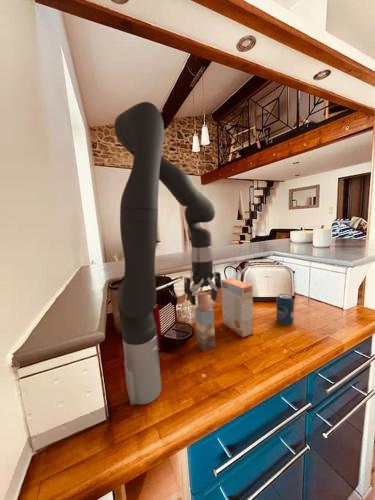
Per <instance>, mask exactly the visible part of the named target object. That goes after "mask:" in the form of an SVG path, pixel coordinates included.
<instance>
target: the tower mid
mask: <svg viewBox="0 0 375 500" xmlns="http://www.w3.org/2000/svg"><path fill="white" fill-rule="evenodd" d="M195 329H196V330H195V331H196V335H197V334H198V335H199V336H200V337H201V338H202V339H205V338H207V337H210V336H213V335H215V334H216V332H215V322H214V323H211V324H208V325H204V326H202V325H201V324H199V323H198V322H197V321H196V320H195Z"/></svg>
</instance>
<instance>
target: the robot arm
mask: <svg viewBox="0 0 375 500" xmlns="http://www.w3.org/2000/svg"><path fill="white" fill-rule="evenodd" d="M113 128H114V132H115V136H116V139H117V140H118V142H119V143H120V144H121V145H122V146H123V148H124V149H125V150H126V151H128V152H129V154H131V155H132V157H133V162H132V167H131V170H130V174H129V176H128V178H127V181H126V184H125V186H124V189H123V191H122V195H121V198H120V206H119V212H120V213H119V228H120V230H119V231H120V239H121V246H122V250H123V251H122V252H123V256H124V257H123V258H124V273H123V281H121V283H120V284H119V286H118V288H117V292H116V297H117V298H116V300H117V307H118V316H119V324H120V330H121V335H122V345H123V353H124V360H123V362H124V363H123V364H124V374H125V381H126V383H125V384H126V390H127V391H126V392H127V393H128V398H129V402H130V406H134V405H147V404H150V403H152V402H153V401H155V400H156V399H157V398H158V397H159V396H160V394H161V393H162V378H161V367H160V354H159V353H160V352H159V343H158V330H157V329H158V328H157V323H156V320H155V318H154V317H155V316H154V309H155V306H156V303H157V286H156V285H157V284H156V269H155V267H156V266H155V263H156V250H157V237H158V235H157V233H158V221H159V220H158V218H159V217H158V216H159V214H158V213H159V201H158V200H159V187H160V186H159V185H160V182H161V183H162V184H163V185H164V186H165V188H167V190H168V191H169V192H170V193H171V194H172V196H173V198H175V200H176V201H177V202H178V203H179V205H181V206H182V207H185V209H184V218H185V221H186V224H187V227H188V232H189V234H190V242H191V248H190V249H191V253H190V260H191V273H192V275H191V276H189V277H187V276H185V277H184V278H183V283H184V285H183V287H184V288H183V290H184V291H183V292H184V294H186V295H187V296H189V303H190V304H191V305H192V306H196V305H197V304H196V303H197V302H196V299H197V298H196V293H197V292H198V291H199V290H200V289H201V288H204V287H210V288H211V290H210V300H212V301H217V298H218V292H217V291H218V290H219V289H222V282H221V280H222V277H221V276H222V275H221V273H220V272H219V271H214V263H213V261H214V260H213V249H212V235H211V234H212V233H211V231H210V230H209V229H206V228H203V227H202V225H201V223H209V222H211V221H213V220H214V218H215V215H216V210H215V205H214V204H213V202H212V201H211V200H210V199H209V198H208V197H206V196H205V195H204V194H203V193H202V192H201V191H199V190H198V189H197V188H196V186H195V185H194V183H193V182H192V181H191V179H190V178H189V176H188V175H187V174H186V173H185V172H184V170H182V169H180V168H179V166H176V165H175V164H173V163H172V162H171V161H169V160H168V159H167V158H165V157H164V156H163V147H164V139H165V138H164V137H165V127H164V120H163V116H162V114H161V112H160V110H159V109H158V108H157V106H156V105H155V104H154V103H152V102H150V101H149V102H148V101H143V102H139V103H137V104H135V105H133V106H131V107H130V108H128V109H126V110H125V111H122V112H121V113H120V114H119V115H117V116H116V118H115V121H114V126H113ZM213 271H214V272H213ZM213 279H214V282H213Z"/></svg>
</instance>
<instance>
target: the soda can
mask: <svg viewBox="0 0 375 500" xmlns="http://www.w3.org/2000/svg"><path fill="white" fill-rule="evenodd" d="M294 306H295V301H294V299H293V296H292V295H291V294H288V293H279V294H278V295H277V297H276V320H277V321H278V323H279V324H282V325H291V324H292V323H294V318H295V317H294V312H295V311H294V310H295V309H294V308H295V307H294Z"/></svg>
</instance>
